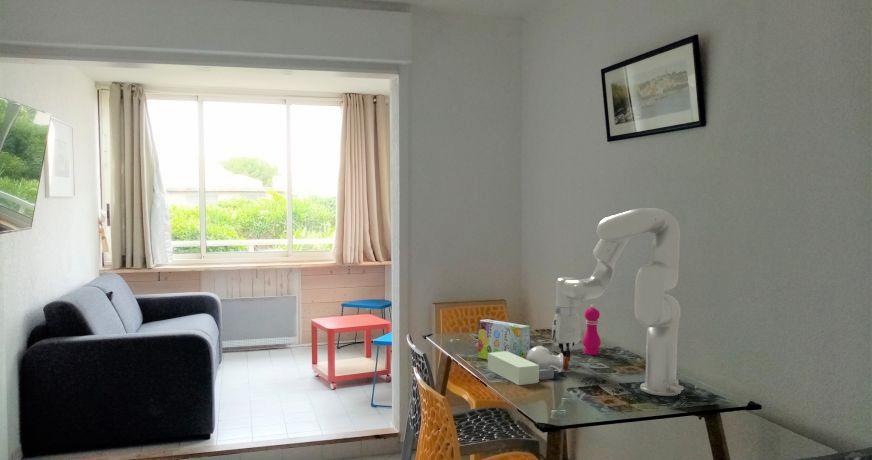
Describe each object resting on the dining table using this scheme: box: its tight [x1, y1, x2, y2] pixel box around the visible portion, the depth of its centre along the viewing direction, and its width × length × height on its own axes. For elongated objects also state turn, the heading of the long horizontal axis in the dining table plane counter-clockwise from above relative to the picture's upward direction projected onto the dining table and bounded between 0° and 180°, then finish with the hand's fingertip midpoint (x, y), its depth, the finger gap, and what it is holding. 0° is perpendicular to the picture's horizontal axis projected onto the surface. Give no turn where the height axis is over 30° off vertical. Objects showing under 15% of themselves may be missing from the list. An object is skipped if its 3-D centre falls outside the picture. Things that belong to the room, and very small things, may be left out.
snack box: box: [477, 319, 531, 361], centre depth 245 cm, size 21×6×15 cm, turn 47°
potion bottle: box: [526, 345, 570, 373], centre depth 231 cm, size 9×10×15 cm
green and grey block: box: [487, 351, 555, 386], centre depth 227 cm, size 22×16×6 cm
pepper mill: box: [582, 303, 602, 356], centre depth 259 cm, size 7×7×20 cm
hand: (565, 360), depth 234 cm, fingers closed
